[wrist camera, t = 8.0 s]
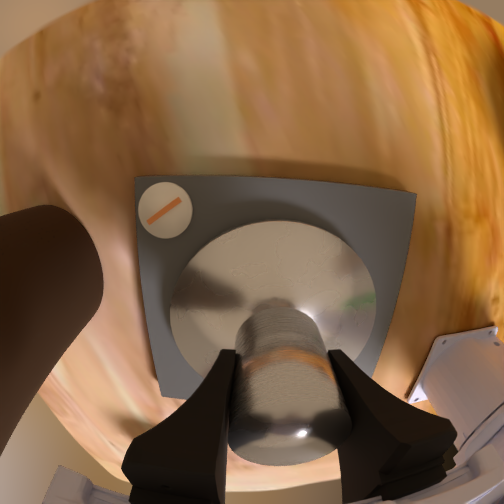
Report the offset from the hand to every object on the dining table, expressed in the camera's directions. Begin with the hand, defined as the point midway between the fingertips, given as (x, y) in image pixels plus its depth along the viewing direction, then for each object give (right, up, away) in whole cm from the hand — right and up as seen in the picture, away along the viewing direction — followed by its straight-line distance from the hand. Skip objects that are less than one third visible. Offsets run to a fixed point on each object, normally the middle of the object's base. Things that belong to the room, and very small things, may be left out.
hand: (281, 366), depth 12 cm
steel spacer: (0, +1, +2) cm, 2 cm away
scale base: (0, +2, +5) cm, 6 cm away
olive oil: (-16, +4, +5) cm, 17 cm away
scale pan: (0, +1, +4) cm, 4 cm away
